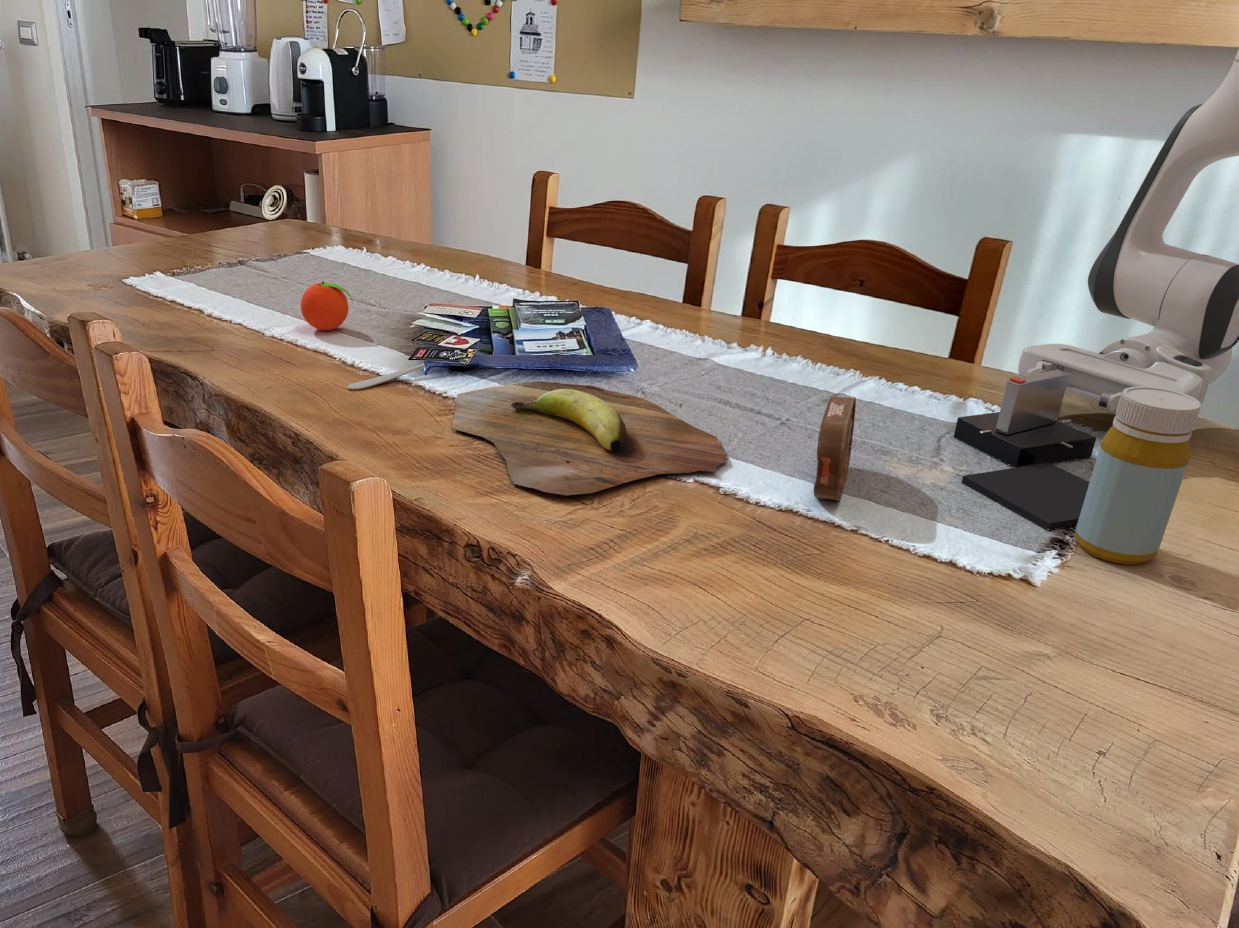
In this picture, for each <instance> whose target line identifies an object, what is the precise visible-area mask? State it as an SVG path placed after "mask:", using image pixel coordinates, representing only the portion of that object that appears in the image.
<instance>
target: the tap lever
mask: <svg viewBox="0 0 1239 928" xmlns="http://www.w3.org/2000/svg"><path fill="white" fill-rule="evenodd" d="M1069 375H1070V373H1067V372H1064V371H1061V370H1053V371H1049V372H1044V373H1039V374H1035V375H1030V376H1026V377H1022V376H1020V377H1017V376H1013V377H1009V379H1008V380H1007V381H1006V386H1005V389H1004V393H1003V397H1002V401H1001V405H1000V410H999V412H1000V413H999V417H998V421H997V425H996V429H995V430H996V431H998V432H1000V433H1003V434H1006V435H1009V434H1013V433H1017V432H1021V431H1025V430H1029V429H1033V428H1036V427H1040V426H1044V425H1048V424H1052V423H1056V422H1057V420H1058V418H1059V415H1060V411H1061V407H1062V403H1063V401H1064V396H1065V393H1066V386H1067V382H1068V379H1069Z"/></svg>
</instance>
